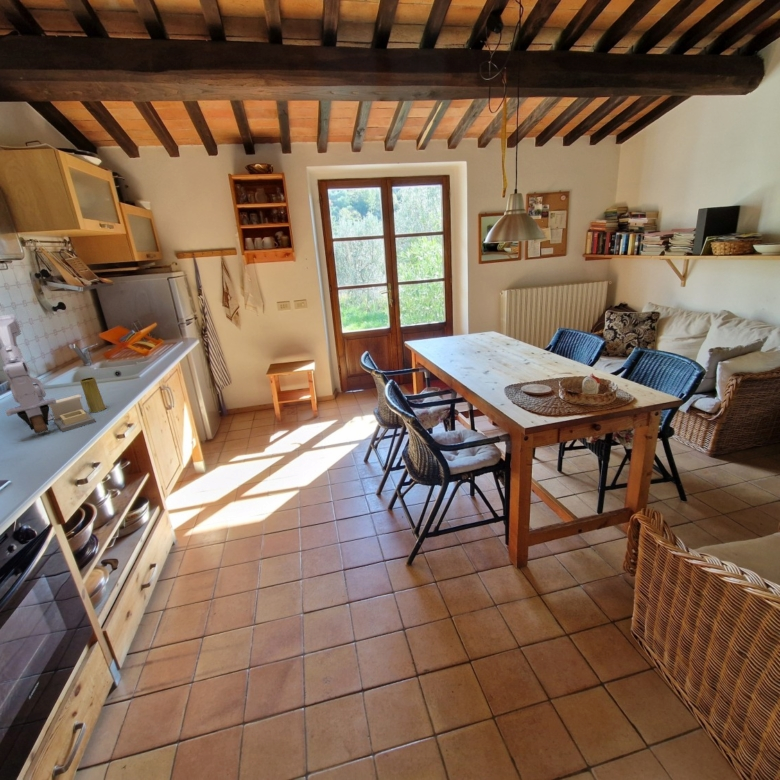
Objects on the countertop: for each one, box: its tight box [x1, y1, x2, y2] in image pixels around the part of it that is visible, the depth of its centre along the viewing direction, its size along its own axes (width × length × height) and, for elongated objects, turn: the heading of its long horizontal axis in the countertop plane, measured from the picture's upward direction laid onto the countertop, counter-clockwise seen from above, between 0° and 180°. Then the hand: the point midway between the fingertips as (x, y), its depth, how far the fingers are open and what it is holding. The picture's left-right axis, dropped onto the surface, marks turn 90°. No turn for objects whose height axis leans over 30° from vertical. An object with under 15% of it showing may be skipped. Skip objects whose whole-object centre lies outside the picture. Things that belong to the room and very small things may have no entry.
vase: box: [79, 376, 107, 413], centre depth 177 cm, size 6×6×14 cm
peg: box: [29, 414, 49, 434], centre depth 157 cm, size 4×4×6 cm
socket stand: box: [48, 393, 97, 433], centre depth 166 cm, size 16×11×9 cm
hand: (39, 426), depth 157 cm, fingers closed on peg, 4 cm apart
